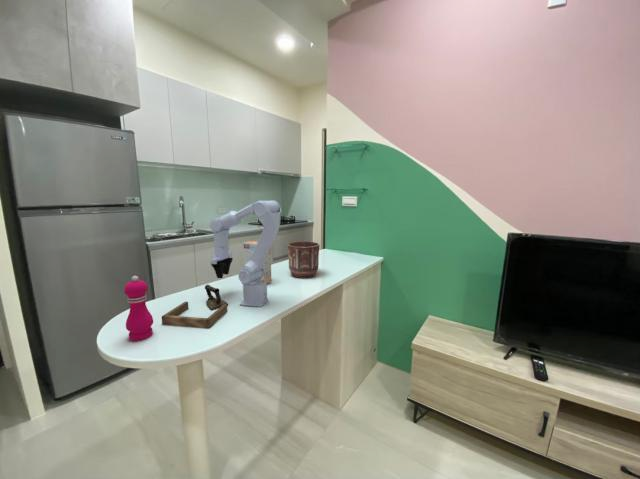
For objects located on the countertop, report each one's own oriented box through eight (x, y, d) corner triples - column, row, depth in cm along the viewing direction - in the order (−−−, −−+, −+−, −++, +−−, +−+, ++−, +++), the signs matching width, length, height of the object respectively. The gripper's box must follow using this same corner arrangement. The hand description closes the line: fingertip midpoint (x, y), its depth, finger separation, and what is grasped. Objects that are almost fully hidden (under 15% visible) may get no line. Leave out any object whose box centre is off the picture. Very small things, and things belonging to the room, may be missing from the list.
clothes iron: (212, 312, 103) (206, 288, 102) (201, 310, 111) (195, 287, 110) (229, 305, 108) (223, 282, 107) (217, 304, 116) (211, 282, 115)
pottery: (305, 268, 164) (305, 240, 161) (325, 275, 151) (325, 244, 148) (282, 274, 152) (281, 243, 149) (301, 282, 139) (300, 248, 136)
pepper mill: (136, 330, 88) (129, 272, 85) (158, 330, 89) (153, 272, 85) (121, 342, 81) (114, 279, 78) (146, 341, 81) (140, 279, 78)
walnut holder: (227, 311, 103) (226, 304, 103) (209, 328, 90) (208, 320, 90) (185, 308, 105) (185, 301, 105) (162, 324, 92) (161, 316, 92)
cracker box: (272, 282, 137) (271, 243, 134) (263, 286, 132) (262, 244, 129) (252, 278, 145) (251, 240, 141) (244, 280, 140) (243, 241, 136)
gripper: (220, 242, 122) (222, 270, 124) (203, 248, 108) (205, 280, 110) (235, 242, 121) (236, 271, 123) (219, 249, 107) (221, 281, 109)
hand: (222, 276), depth 117 cm, fingers open, 5 cm apart
